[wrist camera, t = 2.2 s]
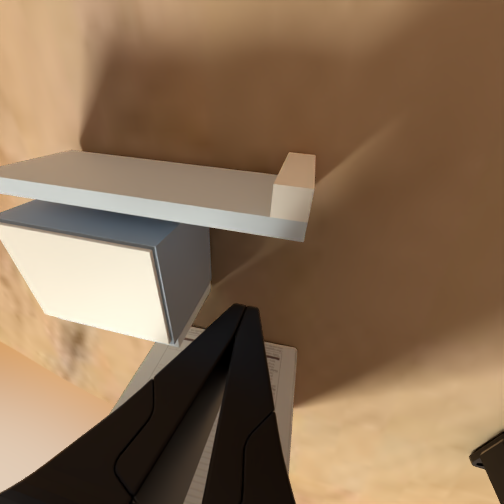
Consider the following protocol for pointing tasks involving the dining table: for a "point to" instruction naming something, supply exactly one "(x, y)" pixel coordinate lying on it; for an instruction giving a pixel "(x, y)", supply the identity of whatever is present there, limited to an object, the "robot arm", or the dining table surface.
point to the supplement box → (283, 395)
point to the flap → (173, 190)
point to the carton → (111, 267)
